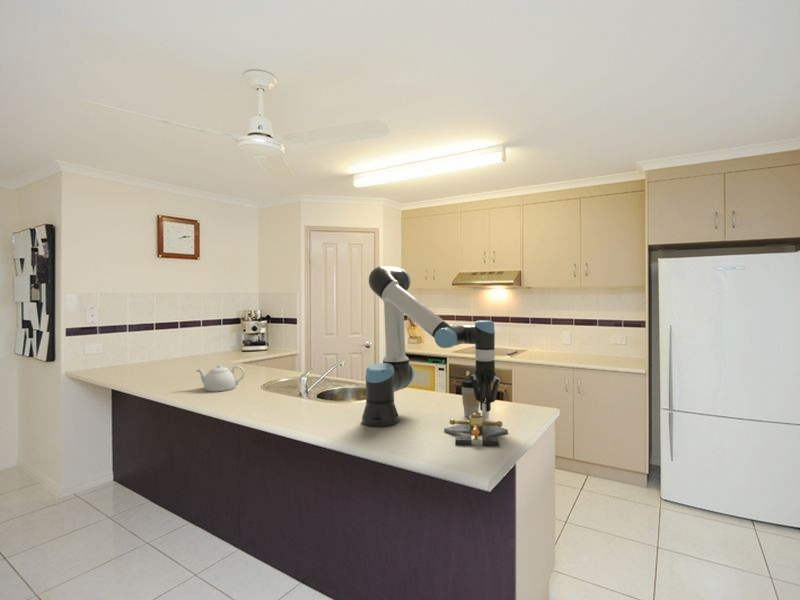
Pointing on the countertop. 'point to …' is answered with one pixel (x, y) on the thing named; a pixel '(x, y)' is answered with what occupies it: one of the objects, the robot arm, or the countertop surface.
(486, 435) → the stand
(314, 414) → the countertop surface
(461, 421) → the handle
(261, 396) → the countertop surface
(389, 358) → the robot arm
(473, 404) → the coffee cup
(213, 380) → the teapot
